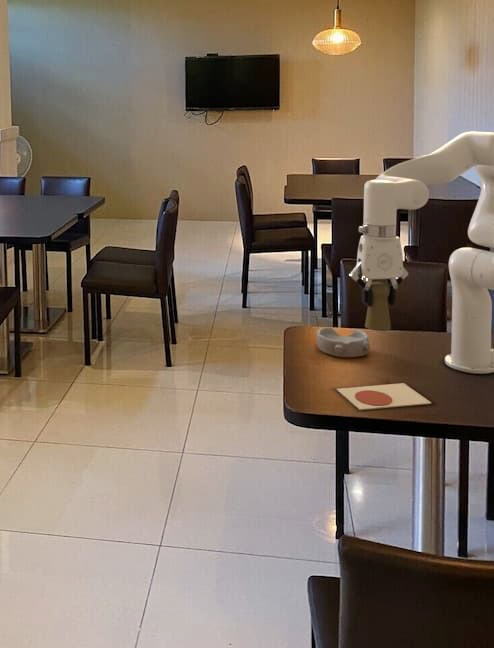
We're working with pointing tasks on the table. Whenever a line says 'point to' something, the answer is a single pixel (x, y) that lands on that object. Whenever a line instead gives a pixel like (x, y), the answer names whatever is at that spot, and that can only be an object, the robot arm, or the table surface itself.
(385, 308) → the cork
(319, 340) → the dish
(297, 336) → the table surface
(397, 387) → the placemat
